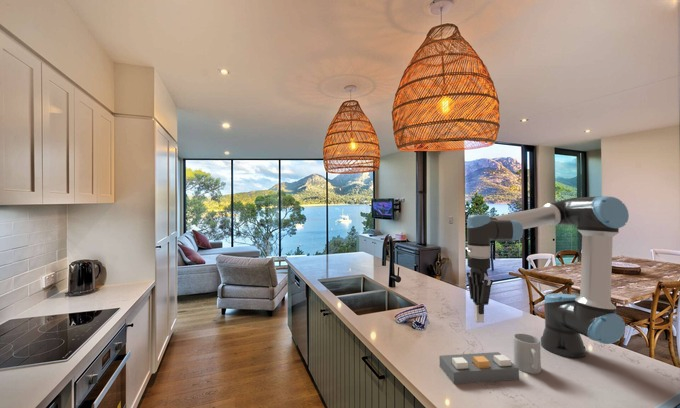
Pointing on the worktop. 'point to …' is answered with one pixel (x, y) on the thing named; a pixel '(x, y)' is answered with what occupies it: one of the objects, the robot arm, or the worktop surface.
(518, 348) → the mug
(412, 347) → the worktop surface
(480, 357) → the button orange
